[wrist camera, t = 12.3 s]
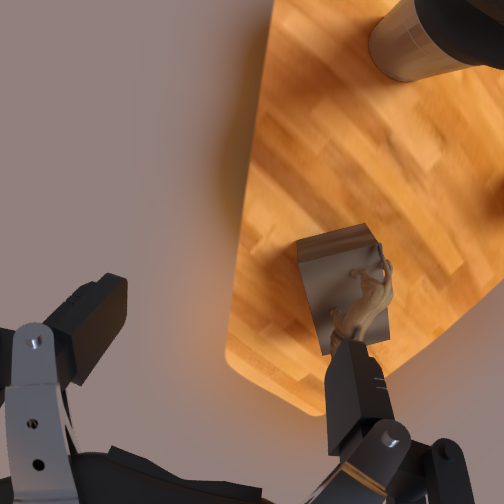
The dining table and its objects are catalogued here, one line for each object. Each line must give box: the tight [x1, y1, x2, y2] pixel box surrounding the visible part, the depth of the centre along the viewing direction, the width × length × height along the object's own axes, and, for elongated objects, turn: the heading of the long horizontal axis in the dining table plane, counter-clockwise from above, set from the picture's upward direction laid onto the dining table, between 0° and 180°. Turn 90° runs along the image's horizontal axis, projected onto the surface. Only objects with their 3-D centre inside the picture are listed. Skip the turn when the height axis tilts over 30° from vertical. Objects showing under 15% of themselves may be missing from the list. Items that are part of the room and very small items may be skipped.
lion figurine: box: [330, 243, 393, 361], centre depth 34 cm, size 15×5×9 cm, turn 168°
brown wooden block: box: [297, 223, 390, 356], centre depth 43 cm, size 15×10×8 cm, turn 18°
